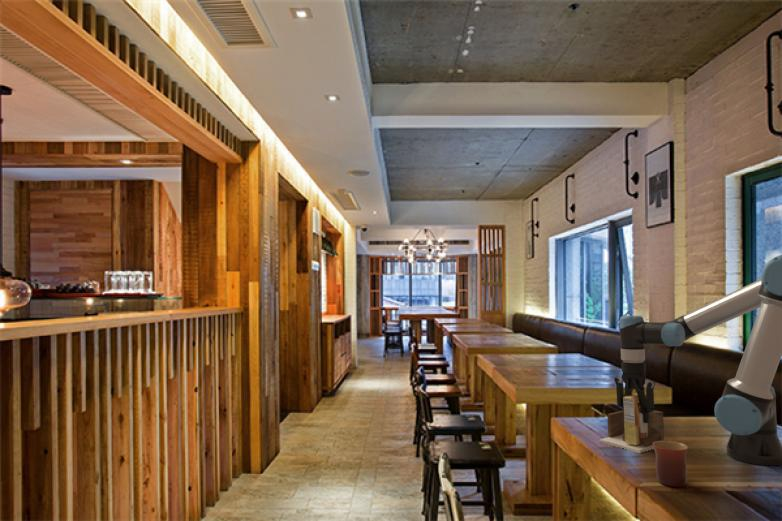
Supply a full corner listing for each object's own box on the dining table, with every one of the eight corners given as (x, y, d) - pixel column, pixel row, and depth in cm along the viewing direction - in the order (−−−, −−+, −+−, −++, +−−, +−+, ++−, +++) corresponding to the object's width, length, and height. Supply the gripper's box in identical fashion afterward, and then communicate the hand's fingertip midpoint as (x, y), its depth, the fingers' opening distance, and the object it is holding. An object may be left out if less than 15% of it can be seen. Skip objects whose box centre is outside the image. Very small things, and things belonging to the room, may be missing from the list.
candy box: (636, 437, 179) (634, 393, 180) (649, 440, 176) (646, 394, 177) (624, 443, 174) (622, 396, 175) (637, 445, 171) (634, 398, 171)
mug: (686, 491, 136) (684, 452, 137) (650, 484, 142) (648, 446, 142) (694, 478, 145) (693, 441, 146) (660, 471, 151) (659, 436, 152)
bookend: (664, 445, 176) (663, 412, 177) (647, 450, 171) (646, 416, 171) (638, 438, 184) (637, 407, 184) (621, 443, 179) (620, 411, 179)
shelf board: (665, 445, 176) (665, 442, 176) (639, 453, 168) (639, 450, 168) (625, 435, 188) (625, 432, 188) (599, 442, 180) (599, 439, 180)
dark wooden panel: (627, 435, 187) (626, 410, 188) (610, 440, 182) (609, 414, 182) (625, 435, 188) (624, 410, 189) (608, 439, 183) (607, 414, 183)
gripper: (664, 362, 171) (668, 434, 170) (616, 357, 186) (619, 423, 185) (652, 365, 167) (655, 438, 166) (603, 359, 182) (606, 427, 180)
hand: (636, 430), depth 175 cm, fingers closed on candy box, 4 cm apart
